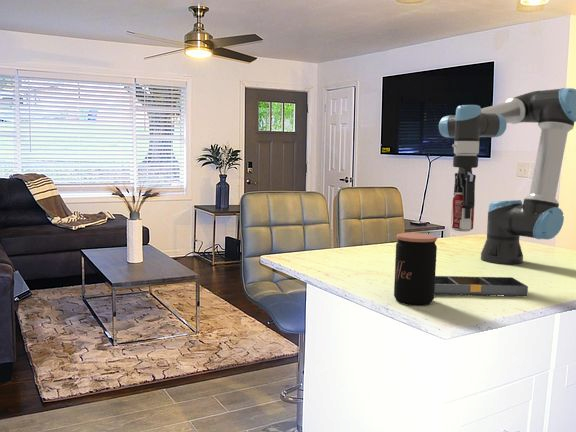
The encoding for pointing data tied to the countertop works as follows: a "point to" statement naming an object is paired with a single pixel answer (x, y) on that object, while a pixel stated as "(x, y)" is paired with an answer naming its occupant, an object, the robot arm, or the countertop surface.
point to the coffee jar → (415, 269)
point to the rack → (479, 286)
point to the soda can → (459, 212)
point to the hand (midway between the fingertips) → (462, 227)
